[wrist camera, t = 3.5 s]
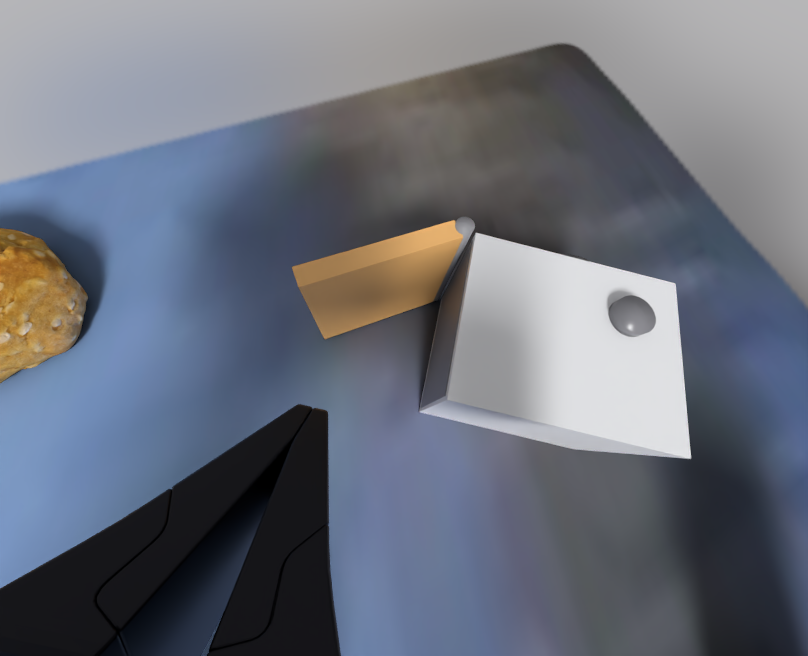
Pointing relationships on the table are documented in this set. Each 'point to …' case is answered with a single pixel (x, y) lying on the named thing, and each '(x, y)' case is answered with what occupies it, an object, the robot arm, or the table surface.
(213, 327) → the table surface
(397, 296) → the side door
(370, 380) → the table surface
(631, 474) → the table surface
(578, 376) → the white block
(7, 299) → the bagel
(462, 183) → the table surface
